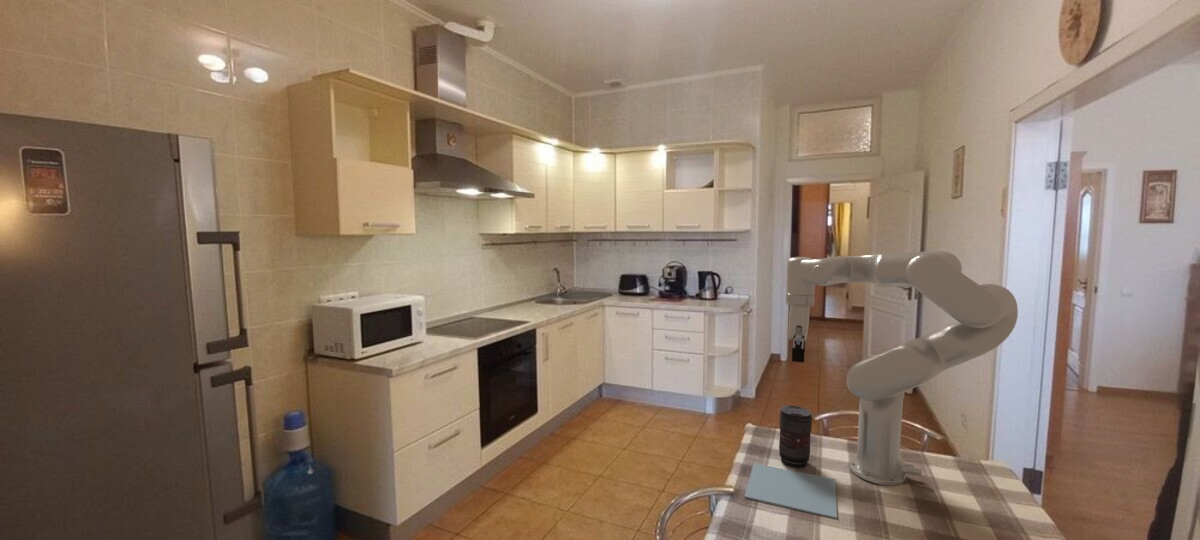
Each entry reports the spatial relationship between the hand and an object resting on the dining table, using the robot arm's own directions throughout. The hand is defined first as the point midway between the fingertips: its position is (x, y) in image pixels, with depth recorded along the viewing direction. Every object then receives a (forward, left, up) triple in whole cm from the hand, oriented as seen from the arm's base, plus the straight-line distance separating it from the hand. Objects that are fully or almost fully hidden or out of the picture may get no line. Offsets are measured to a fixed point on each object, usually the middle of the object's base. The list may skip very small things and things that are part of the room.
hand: (798, 357), depth 138 cm
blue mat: (0, +27, -26) cm, 37 cm away
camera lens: (0, +13, -27) cm, 29 cm away
